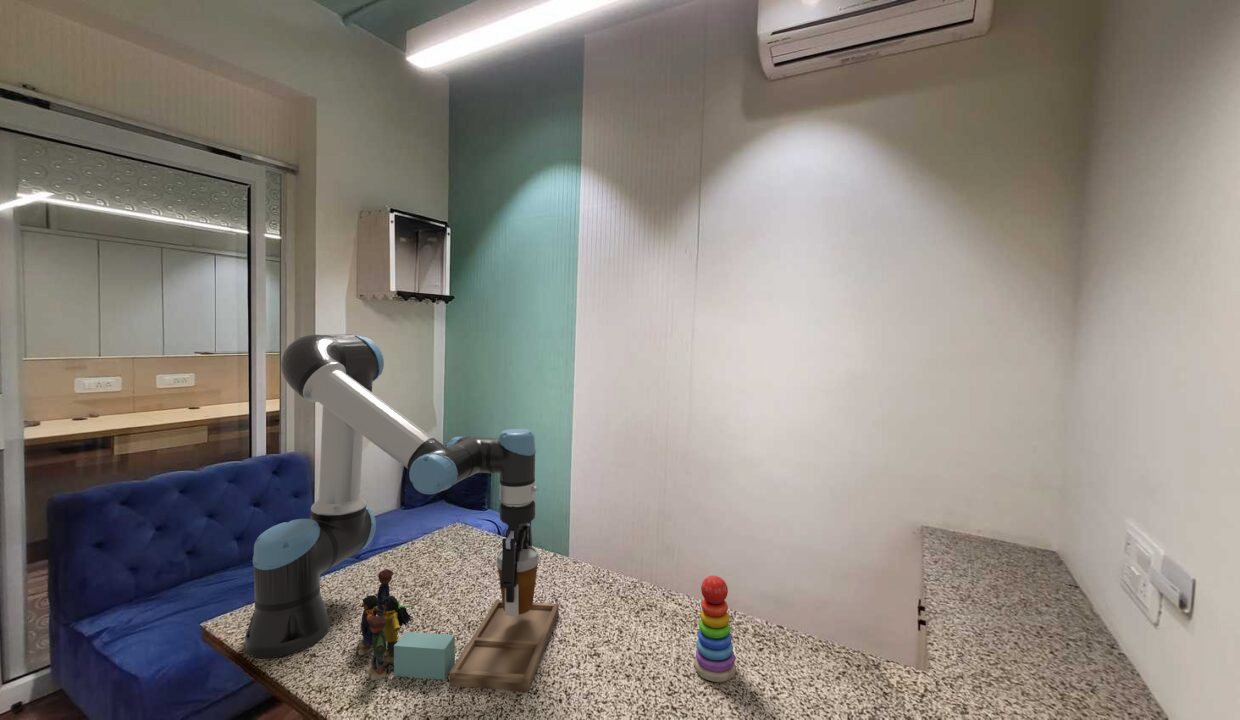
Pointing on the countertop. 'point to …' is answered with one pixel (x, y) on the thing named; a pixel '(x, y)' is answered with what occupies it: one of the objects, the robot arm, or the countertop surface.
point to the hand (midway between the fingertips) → (517, 603)
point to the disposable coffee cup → (523, 578)
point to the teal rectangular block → (424, 655)
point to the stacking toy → (714, 634)
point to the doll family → (381, 625)
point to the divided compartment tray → (505, 649)
